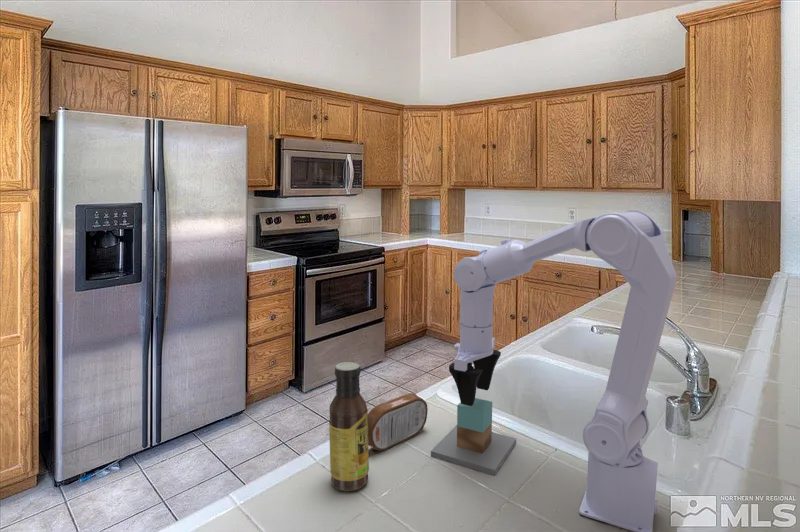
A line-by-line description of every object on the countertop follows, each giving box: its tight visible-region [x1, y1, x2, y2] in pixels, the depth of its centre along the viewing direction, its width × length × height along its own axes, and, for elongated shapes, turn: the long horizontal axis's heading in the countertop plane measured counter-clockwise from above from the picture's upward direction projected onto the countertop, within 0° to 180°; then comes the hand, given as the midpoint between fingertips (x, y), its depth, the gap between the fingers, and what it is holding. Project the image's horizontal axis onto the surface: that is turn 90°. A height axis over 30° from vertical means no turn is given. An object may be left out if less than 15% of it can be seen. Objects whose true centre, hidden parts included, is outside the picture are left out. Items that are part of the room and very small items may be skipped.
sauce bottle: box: [328, 361, 370, 492], centre depth 77 cm, size 6×6×20 cm
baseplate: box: [430, 424, 517, 476], centre depth 88 cm, size 12×12×1 cm
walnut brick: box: [457, 422, 493, 454], centre depth 87 cm, size 5×4×4 cm
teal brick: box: [456, 397, 493, 433], centre depth 87 cm, size 5×4×4 cm
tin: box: [368, 392, 428, 452], centre depth 90 cm, size 15×3×8 cm, turn 132°
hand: (475, 396), depth 86 cm, fingers open, 7 cm apart
